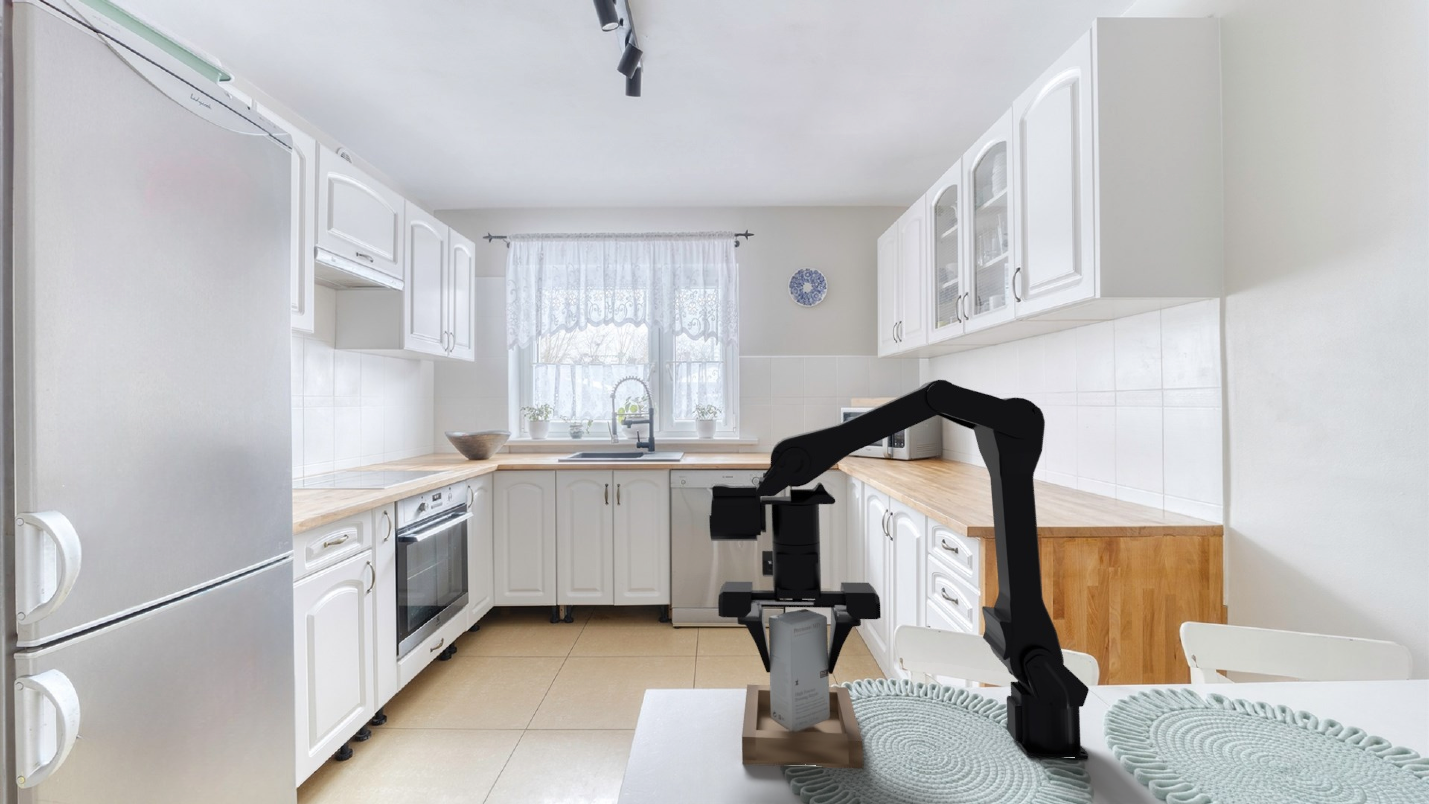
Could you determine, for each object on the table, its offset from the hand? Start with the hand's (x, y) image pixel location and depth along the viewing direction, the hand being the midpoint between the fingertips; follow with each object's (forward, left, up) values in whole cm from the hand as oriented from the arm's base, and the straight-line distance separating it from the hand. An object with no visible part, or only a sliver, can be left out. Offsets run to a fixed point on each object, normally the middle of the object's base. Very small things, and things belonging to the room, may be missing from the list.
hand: (799, 671), depth 71 cm
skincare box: (0, 0, -6) cm, 6 cm away
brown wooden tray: (0, 0, -8) cm, 8 cm away
